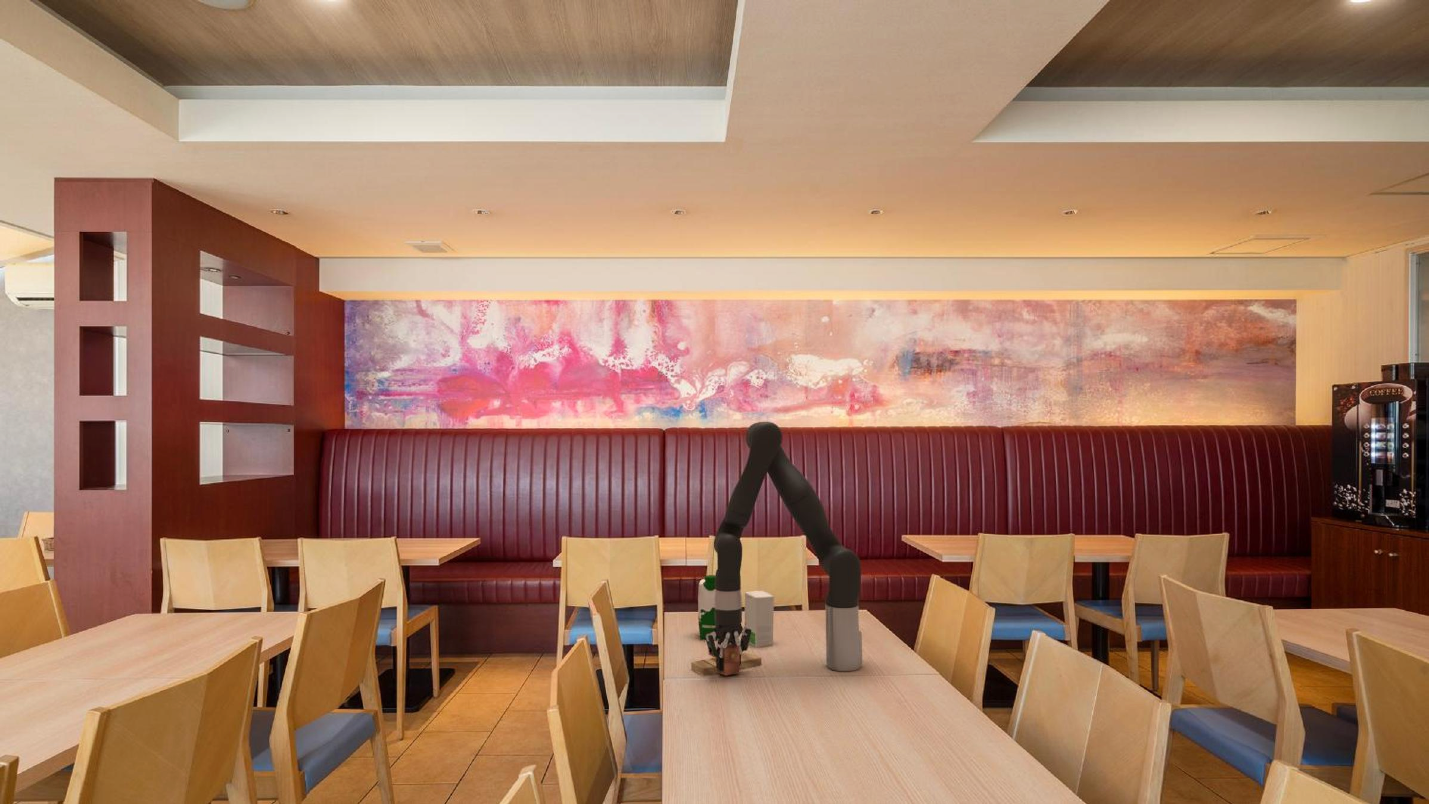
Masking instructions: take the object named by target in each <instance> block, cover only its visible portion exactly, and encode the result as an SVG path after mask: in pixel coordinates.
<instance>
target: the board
mask: <svg viewBox="0 0 1429 804" xmlns="http://www.w3.org/2000/svg"><path fill="white" fill-rule="evenodd" d="M762 663H763V662H762V657H761V656H759V655H757V654H754V653H753V652H750V651H743V652H742V653H741V665H740V670H742V669H748V668H752V667H757V666H761V665H762ZM690 670H692V672H696V673H697V674H699V675H700V676H702V677H706V676H711V675H716V674H721V673H720V672H718V668H717V667H716V658H714V657H712V658H711V657H710V658H707V659H700V660H696V661H694V660H693V661H691V662H690Z"/></svg>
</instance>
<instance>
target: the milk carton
mask: <svg viewBox="0 0 1429 804" xmlns="http://www.w3.org/2000/svg"><path fill="white" fill-rule="evenodd" d="M697 588H698V590H697V591H698V593H697V601H698V602H697V603H698V605H697V606H698V607H697V608H698V609H697V610H698V613H697V614H698V616H697V617H698V618H697V619H698V622H697V623H698V629H699V631H698V632H699V638H700V639H699V640H700V641H706V638H705V634H707V633H708V634H710V633H712V632H714V629H715V575H714V574H713V575H712V574H707V575H705V576H704V578H703V579H701V580H700V581H699V583H698V587H697ZM717 639H718V638H717V637H716V636H715V641H717Z"/></svg>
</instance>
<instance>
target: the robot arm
mask: <svg viewBox="0 0 1429 804" xmlns="http://www.w3.org/2000/svg"><path fill="white" fill-rule="evenodd" d="M745 441H746V445H747V447H748V448H749V452H748V453H749V454H748V458H747V460H746V461H747V462H746V463H745V466H744V469H743V471H742V473H741V476H740V477H739V478H738V479H739V480H738V481H737V483H736V485H735V487H734V488H733V491H732V494H731V496H730V499H729V501H728V505H727V507H726V510H725V514H724V517H723V519H722V521H721V523H720V524H719V527H718V529H717V532H716V533H715V537H714V539H713V547H714V548H713V549H714V551H715V552H716V557H717V562H716V563H717V569H716V571H715V629H714V632H712V633H710V634H708V633H707V634H705V638H706V640H705V642H706V645H707V649H708V654H709V653H710V654H711V655H713V656H716V667H717V668H718V670H719V671H724V658H723V655H724V649H726V647H727V644H732V645H735V646H737V647H738V646H739V658H740V665H741V653H743V652H748V647H749V645H750V644H749V640H750V635H751V629H749V628H746V627H743V626H742V623H743V601H742V600H743V599H742V596H743V595H742V587H741V586H742V584H741V583H742V582H741V581H742V580H741V567H742V563H743V561H742V559H743V544H742V541H741V537H742V534H743V532H744V529H745V527H747V526H748V524H749V523H750V520H751V517H752V515H753V513H754V508H755V505H756V504H757V500H758V496H759V494H760V490H761V488H762V485H763V482H764V480H765V479H766V478H765V477H766V475H767V474H768V476H769V478H770V479H771V481H772V484H773V486H774V487H775V489H776V492H777V493H778V495H779V496H780V499H781V500H782V502H783V504H784V505H785V507H786V510H788V513H789V514H790V515H791V517H792V518H793V520H794V521H795V523H796V525H797V526H798V527H799V529H800V531H802V533H803V535H804V536H805V537H806V539H807V540H808V542H809V544H810V545H811V546H812V549H813V551H814V553H815V555H816V557H817V559H818V561H819V564H820V566H821V568H822V569H823V571H824V573H825V574H826V575H828V576H829V577H828V581H829V582H828V583H829V584H828V591H827V592H826V594H825V601H824V602H825V603H824V606H825V607H824V608H825V655H826V656H825V657H826V658H825V659H826V660H825V661H826V663H825V664H826V667H827V668H828V669H830V670H834V671H839V672H851V671H857V670H858V669H860V668H861V667H863V637H862V636H863V634H862V632H861V631H860V628H859V627H860V625H859V624H860V623H859V622H860V620H859V618H860V617H859V599H860V596H861V593H862V592H861V590H862V587H861V586H862V585H861V584H862V565H861V560H860V557H859V556H858V554H857V553H855V551H853V550H851V549H849V548H846V547H845V546H844V545H843V544H842V543H841V542H840V540H839V539H838V537H837V535H835V532H833V530H832V528H831V526H830V524H829V521H828V519H827V514H826V511H825V508H824V506H823V503H822V502H821V500H820V497H819V496H818V494H817V492H816V491H815V490H814V489H815V488H813V486H812V485H811V483H810V482H809V481H808V479H807V478H806V477H805V476H804V474H803V473H801V471H800V470H799V469H798V468H797V467H796V465H794V464H793V462H792V461H791V460H790V459H789V458H788V455H787V454H786V452H785V451H784V449H783V446H782V443H783V433H782V430H781V428H780V427H779V426H778V424H777V423H774V422H771V421H758V422H754V423H752V424H751V425H750V426H749V427H748V428H747V431H746V433H745ZM715 636H716V637H717V638H718V639H717V640H715ZM715 641H716V643H715Z"/></svg>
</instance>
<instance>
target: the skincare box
mask: <svg viewBox="0 0 1429 804" xmlns="http://www.w3.org/2000/svg"><path fill="white" fill-rule="evenodd" d="M774 606H775V596H774V595H772V594H770V593H769V592H767V591H764V590H753V591H745V592H744V625H743V626H744V627H746V628H749V629H751V635H750V640H749V644H748V645H750V646H752V647H754V648H755V649H756V648H761V647H763V648H764V647H769V646H770V647H771V646H773V645H774V614H775V612H774V611H775V610H774ZM744 627H743V628H744Z"/></svg>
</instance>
